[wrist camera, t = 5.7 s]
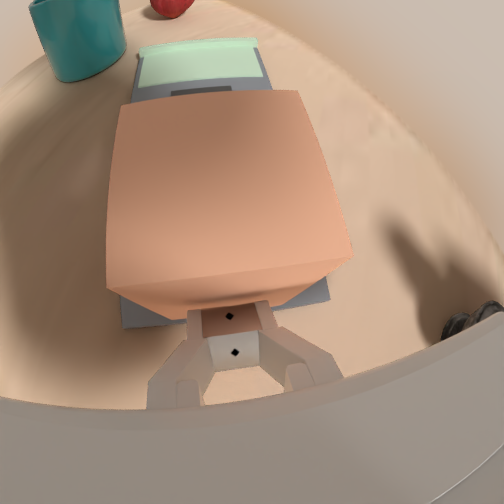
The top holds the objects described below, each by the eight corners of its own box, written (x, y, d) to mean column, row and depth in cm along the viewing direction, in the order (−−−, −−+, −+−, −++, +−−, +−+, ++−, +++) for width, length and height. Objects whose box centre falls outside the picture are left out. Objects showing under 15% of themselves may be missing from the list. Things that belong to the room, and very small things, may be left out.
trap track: (125, 328, 15) (117, 327, 13) (141, 58, 22) (139, 47, 21) (326, 301, 16) (336, 297, 15) (255, 48, 24) (256, 37, 23)
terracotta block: (171, 320, 14) (106, 287, 6) (163, 217, 16) (120, 105, 8) (281, 304, 15) (353, 256, 7) (262, 206, 17) (297, 90, 8)
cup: (119, 27, 25) (108, -38, 14) (134, 61, 22) (118, -28, 12) (58, 54, 23) (37, -8, 12) (56, 96, 20) (21, 15, 9)
